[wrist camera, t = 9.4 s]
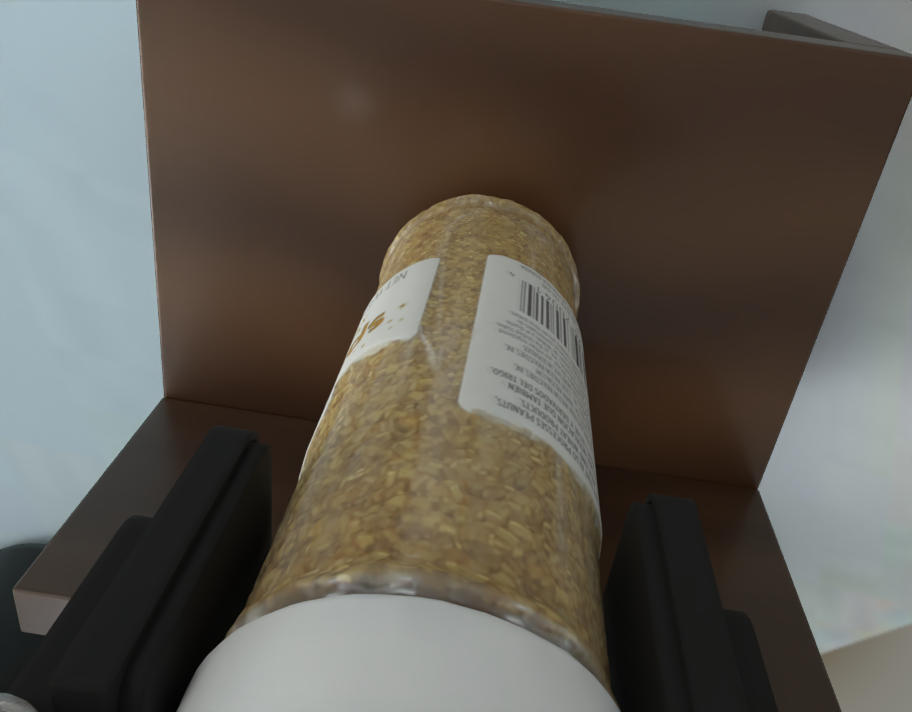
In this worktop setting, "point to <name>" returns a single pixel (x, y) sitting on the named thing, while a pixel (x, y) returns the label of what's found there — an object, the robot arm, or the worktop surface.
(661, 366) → the spice shelf
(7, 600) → the black machined bracket
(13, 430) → the worktop surface
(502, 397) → the sprinkles bottle
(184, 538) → the robot arm
